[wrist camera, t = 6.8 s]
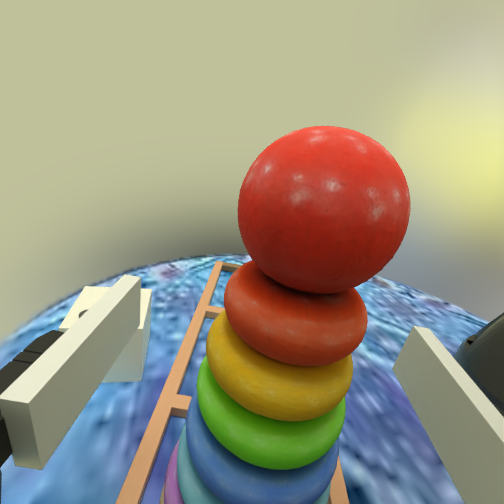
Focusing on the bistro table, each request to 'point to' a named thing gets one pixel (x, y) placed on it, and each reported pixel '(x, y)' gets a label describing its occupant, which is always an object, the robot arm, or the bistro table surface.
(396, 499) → the bistro table surface
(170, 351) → the bistro table surface
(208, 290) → the ladder
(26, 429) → the robot arm
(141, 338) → the die
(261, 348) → the stacking toy
